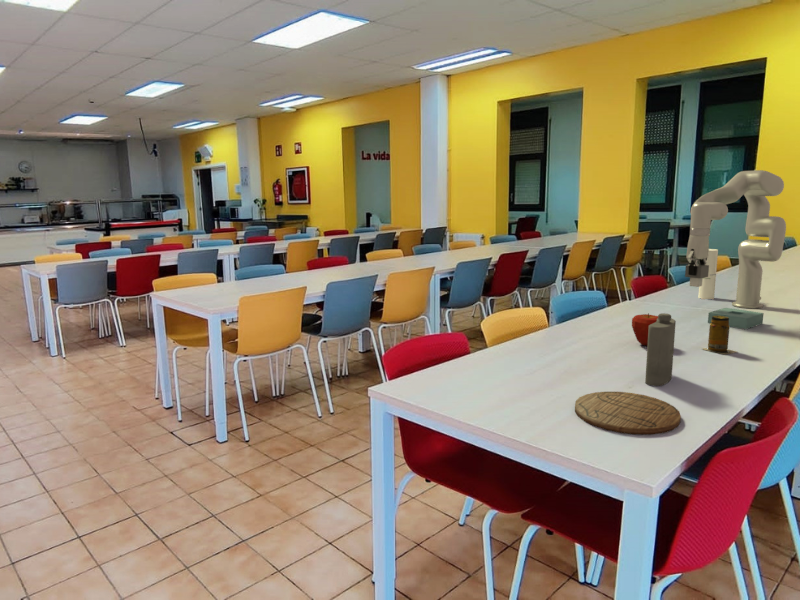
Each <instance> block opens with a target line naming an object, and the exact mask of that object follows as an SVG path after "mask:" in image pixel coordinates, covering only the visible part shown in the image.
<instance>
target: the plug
mask: <svg viewBox="0 0 800 600" xmlns="http://www.w3.org/2000/svg"><path fill="white" fill-rule="evenodd" d="M696 266H697V274H696V275H695V276H694V275H689V274H688V272H689V265H688V264H686V265H685V271H684V272H685V273H684V277H685V278H689V287H695V288H697V287H698V288H699V287H700V286H702V281H703V278H705V277H708V272H709V265H700V264H699V263H697V264H696Z"/></svg>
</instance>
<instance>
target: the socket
mask: <svg viewBox="0 0 800 600" xmlns="http://www.w3.org/2000/svg"><path fill="white" fill-rule="evenodd" d="M707 316H708V317H707V324H711V323H712V322H711V321H712V317H713V316H725V317H728V318H729V326H731V327H730V328H735V327H737V328H736V329H741V328H744V329H743V330H748V329H747V328H749V329H751V328H754V327H757V326H759V324H760V325H762V323H764V312H759V311H752V310H745V309H738V308H737V309H736V308H730V307H723V308H720V309H716V310H712V311H709V312H708V315H707ZM756 325H757V326H756ZM753 326H754V327H753ZM750 327H751V328H750Z"/></svg>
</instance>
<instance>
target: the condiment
mask: <svg viewBox="0 0 800 600" xmlns="http://www.w3.org/2000/svg"><path fill="white" fill-rule="evenodd" d="M711 322H712V323H709V330H708V340H707V341H708V343H707V347H706V348H705V347H703V348H702V350H704V351H708V352H713V353H717V354H721V355H730V354H735V353H738V351H736V350H733V349H728V347H729V338H730V328H731V327H730V326H729V318H728V317H725V316H713V317H712V321H711ZM707 348H708V349H707Z"/></svg>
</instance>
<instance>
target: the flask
mask: <svg viewBox="0 0 800 600" xmlns="http://www.w3.org/2000/svg"><path fill="white" fill-rule="evenodd" d="M657 316H658V319H657V321H656V322H655V323H653V324H650V325H649V330H648V346H647V345H646V346H647V348H646V349H647V350H646V364H645V366H646V367H645V380H644V381H645V384H646V385H648V386H652V387H662V386H665V385H666V384H668V383H669V382H671V380H672V378H673V363H674V352H675V350H674V349H675V338H676V337H675V335H676V322H677V321H676V320H675V319H674V318H672V315H671V314H669V313H666V312H664V313H659V314H658V315H657Z"/></svg>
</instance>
